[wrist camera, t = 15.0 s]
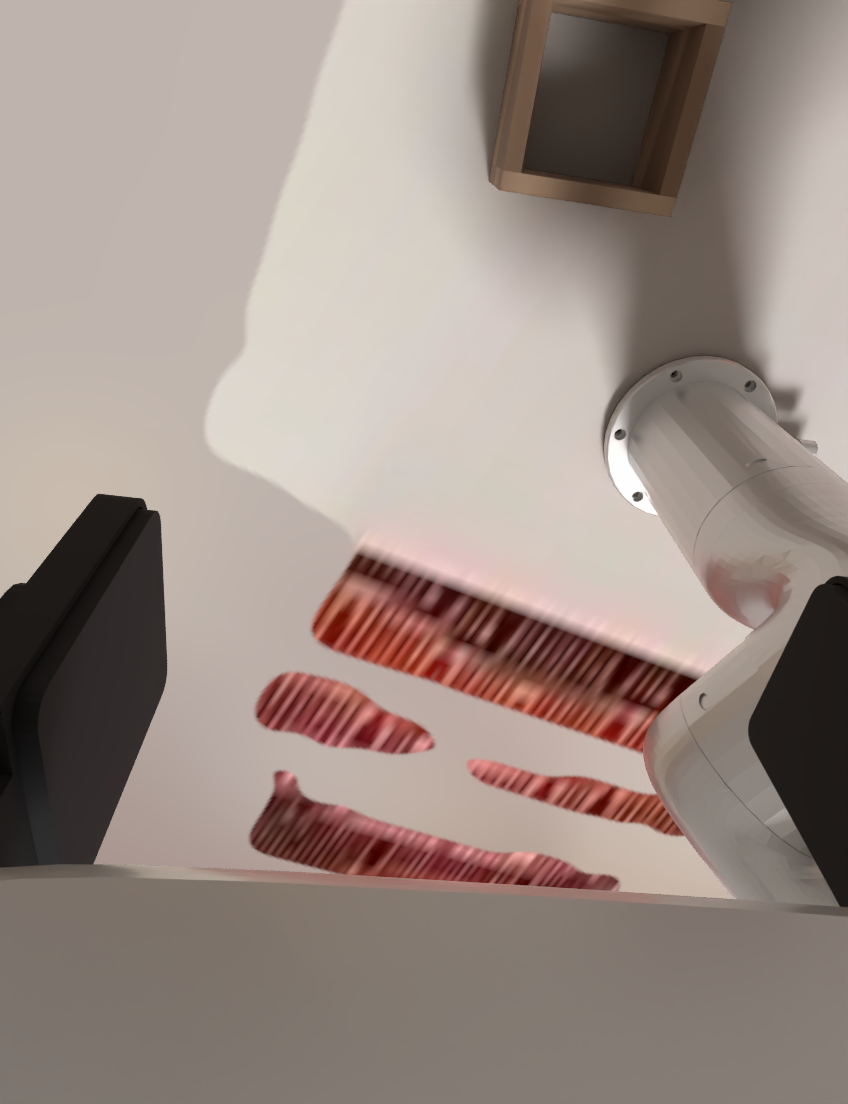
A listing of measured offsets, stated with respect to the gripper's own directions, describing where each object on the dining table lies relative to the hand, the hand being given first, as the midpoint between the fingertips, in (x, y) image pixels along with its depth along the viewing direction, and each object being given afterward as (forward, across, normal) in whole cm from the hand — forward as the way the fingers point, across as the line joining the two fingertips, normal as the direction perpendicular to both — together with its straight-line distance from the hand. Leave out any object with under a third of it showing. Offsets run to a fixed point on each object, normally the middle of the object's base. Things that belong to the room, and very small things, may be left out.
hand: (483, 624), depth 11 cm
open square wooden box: (+43, -9, -8) cm, 45 cm away
